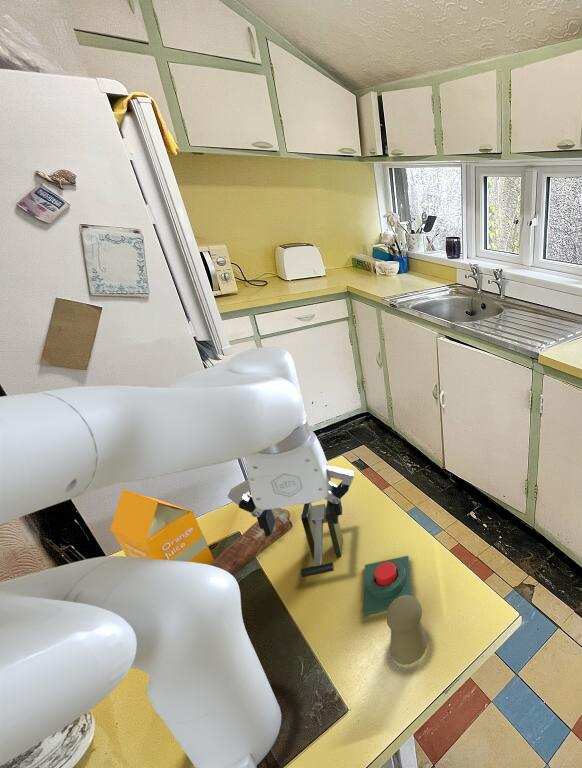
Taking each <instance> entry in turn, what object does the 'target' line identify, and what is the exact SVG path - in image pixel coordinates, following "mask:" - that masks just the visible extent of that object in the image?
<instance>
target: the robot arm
mask: <svg viewBox="0 0 582 768" xmlns="http://www.w3.org/2000/svg"><path fill="white" fill-rule="evenodd" d="M308 421H309V420H308V418H307V413H306V410H305V404H304V400H303V396H302V392H301V387H300V383H299V378H298V373H297V369H296V365H295V362H294V358H293V356H292V355H291V354H290V352H289V351H287V350H286V349H284V348H282V347H281V348H280V347H276V346H275V347H274V346H261V347H255V348H251V349H250V348H249V349H247V350H243V351H241V352H238V353H237V354H235V355H234V356H233V357H231V358H230V359H229V360H228V361H226V362H223V363H220V364H216V365H213V366H210V367H206V368H203V369H199V370H195V371H193V372H189V373H187V374H185V375H183V376H181V377H179V378H177V379H176V380H174V381H173V382H171V384H169V385H168V386H167V387H156V386H139V385H138V386H137V385H87V386H85V385H84V386H83V385H81V386H72V387H71V386H70V387H62V388H56V389H50V390H41V391H33V392H26V393H18V394H17V393H16V394H11V395H10V394H9V395H3V396H0V525H2V524H5V523H7V522H10V521H14V520H16V519H18V518H22V517H24V516H27V515H29V514H32V513H36V512H38V511H40V510H44V509H47V508H49V507H52V506H54V505H57V504H61V503H64V502H66V501H69V500H73V499H74V498H78V497H80V496H83V495H86V494H89V493H91V492H95V491H98V490H100V489H103V488H106V487H110V486H113V485H118V484H122V483H128V482H129V483H130V482H136V481H142V480H147V479H154V478H158V477H163V476H167V475H171V474H176V473H180V472H181V473H182V472H186V471H190V470H196V469H200V468H206V467H210V466H215V465H219V464H224V463H229V462H232V461H236V460H240V459H243V458H245V467H246V473H247V479H245V480H244V481H242V482H240V483H239V484H237V485H235V486H234V487H232V488H231V489H230V490H229V492H228V494H227V498H228V499H229V500H230V501H232V502H233V503H234V504H235V505H236V504H237V505H238V508H239V509H241V510H244V512H245V511H246V512H247V513H250V514H251V516H252V517H253V518H256V520H257V521H258V523H259V526H260V529H264V532H265V535H266V536H270V535H271V534H272V531H273V528H274V525H275V519H274V516H273V512H272V509H276V508H282V509H283V508H288V507H294V506H301V505H304V504H306V503H311V504H312V503H316V502H321V501H323V500H326V501H327V500H328V501H330V502H329V510H330V514H331V518H332V523H334V524H337V523H338V520H339V516H343V505H342V501H341V499H342V498H344V496H345V495H346V494H347V493H348V492H349V489H350V487H351V485H352V483H353V481H354V479H355V477H354V476H355V472H354V471H353V470H350V469H345V468H342V467H337V466H333V465H329V464H328V460H327V457H326V455H325V452H324V450H323V447H322V445H321V443H320V440H319V438H318V437H317V435H316V434H315V432H314V431H313V430H310V427H309V426H310V425H309V422H308ZM331 478H332V479H336V480H340V483H339V484H338V485H336V484H335V483H333V482H332V481H331V480H332V479H331ZM248 492H250V494H251V496H250V495H246V494H247V493H248ZM131 668H132V669H137V670H138V671H139V670H140V671H142V672H144V673H146V674H147V675H149V677H148V680H147V684H146V685H147V686H146V694H147V699H148V701H149V703H150V705H151V707H152V708H153V710H154V711H155V712H156V714H157V715H158V717H159V718H160V720H161V721H162V722H163V723H164V725H165V726H166V727H167V729H168V730H169V732H170V733H171V735H172V736H173V738H174V739H175V740H176V742H177V743H178V745H179V746H180V748H181V749H182V750H183V752H184V753H185V755H186V756H187V757H188V759H189V760H190V762H191V764H192V765H193V766H194V768H258V765H259V764H260V763H261V762H262V761H263V760H264V759H265V757H266V756H267V755H268V753H270V750H272V748H273V746H274V744H275V742H276V740H277V738H278V736H279V733H280V730H281V726H282V716H283V715H282V711H281V707H280V704H279V703H278V700H277V698H276V696H275V693H274V691H273V688H272V687H271V684H270V681H269V680H268V678H267V675H266V673H265V670H264V668H263V666H262V664H261V661H260V660H259V656H258V655H257V653H256V650H255V648H254V646H253V644H252V640H251V639H250V637H249V635H248V632H247V630H246V626H245V623H244V619H243V612H242V599H241V590H240V586H239V583H238V581H237V579H236V578H235V577H234V575H233V576H232V575H231V574H230V573H228V572H227V571H225V570H223V569H221V568H218V567H215V566H211V565H207V564H201V563H194V562H183V561H173V560H163V559H161V560H157V559H147V558H136V557H126V556H122V555H107V556H106V555H105V556H98V557H97V556H96V557H92V558H86V559H82V560H78V561H74V562H70V563H67V564H62V565H60V566H59V565H58V566H55V567H51V568H48V569H44V570H41V571H37V572H33V573H29V574H26V575H21V576H18V577H14V578H9V579H6V580H3V581H0V767H2V766H3V765H5V764H7V763H8V762H10V761H11V760H13V759H14V758H17V757H18V756H20V755H22V754H23V753H25V752H27V751H28V750H30V749H32V748H33V747H35V746H36V745H38V744H40V743H41V742H43V741H44V740H46V739H48V738H49V737H51V736H53V735H54V734H56V733H57V732H60V731H61V730H62V729H64V728H66V727H68V726H69V725H70V724H72V723H73V722H75V721H77V720H78V719H79V718H81V717H82V716H84V715H86V714H87V713H88V712H90V711H91V710H92V709H94V708H96V706H98V705H99V704H100V703H101V702H103V701H104V700H105V699H106V698H107V697H108V696H109V695H111V693H112V692H113V691H114V690H115V689H116V688H117V687H118V686H119V684H120V683H121V682H122V681H123V680H124V678H125V677H126V676H127V674H128V673H129V671H130V669H131Z"/></svg>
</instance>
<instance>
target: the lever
mask: <svg viewBox="0 0 582 768" xmlns="http://www.w3.org/2000/svg"><path fill="white" fill-rule="evenodd" d="M326 506H327V505H326V504H325V503H322V504H321V503H320V504H316V505H312V518H311V520H312V522H313V523H314V525H315V547H314V562H313V565H312V566H308V567H302V568H301V569H300V577H301V578H307V577H312V576H317V575H321V574H326V573H331V572H334V571H335V563H334V562H333V561H331V562H327V563H323V542H324V541H323V539H324V538H323V535H324V534H323V533H324V524H326V523H327V519H326V515H325V512H326ZM327 524H328V523H327Z"/></svg>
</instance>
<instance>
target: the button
mask: <svg viewBox="0 0 582 768" xmlns="http://www.w3.org/2000/svg"><path fill="white" fill-rule="evenodd" d="M396 576H397V573H396V567H395V565H394V564H393V563H391V562H385V563H382V564H380V565H379V566H378V567H377V568H376V570H375V578H376V582H377V583H378V584H379V585H381V586H387V585H389V584H391V583H393V582H394V581H395V579H396Z"/></svg>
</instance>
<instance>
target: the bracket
mask: <svg viewBox="0 0 582 768" xmlns="http://www.w3.org/2000/svg"><path fill="white" fill-rule="evenodd" d="M329 502H330V501H328V500H326V505H325V506H326V512H325V515H326V519H327V528H328V530H329V535H330V538H331V543H332V547H333V552H334V555H335V558H336V559H337V558H341V557H342V556H343V545H344V538H343V533H342V529H341V524H340V520H339V519H338V523H337V524H334V523H332V518H331V514H330V510H329ZM312 506H313V505H312V503H306V504H303V508H302V513H301V515H300V520H301V524H302V527H303V529H304V533H305V537H306V540H307V544H308V547H309V551H310V554H311V558H312V562H313V563H314V547H315V525H314V523H313V522H312V520H311V518H312Z"/></svg>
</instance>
